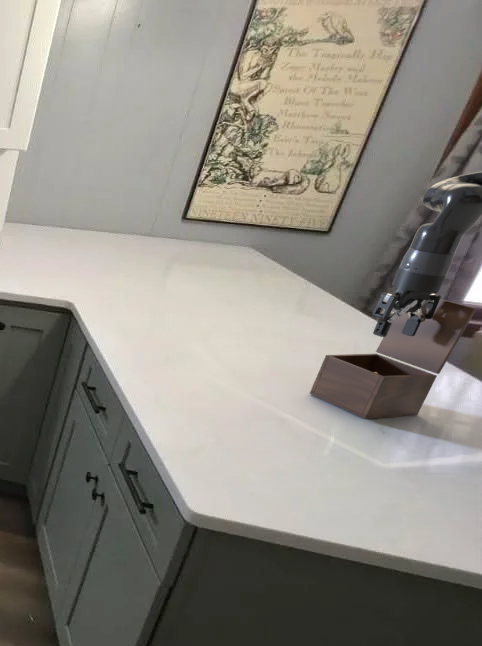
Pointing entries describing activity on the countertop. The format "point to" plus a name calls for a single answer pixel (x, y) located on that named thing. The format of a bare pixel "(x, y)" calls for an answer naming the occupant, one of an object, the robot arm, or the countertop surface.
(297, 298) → the countertop surface
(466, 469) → the countertop surface
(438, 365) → the lid
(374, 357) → the chest
